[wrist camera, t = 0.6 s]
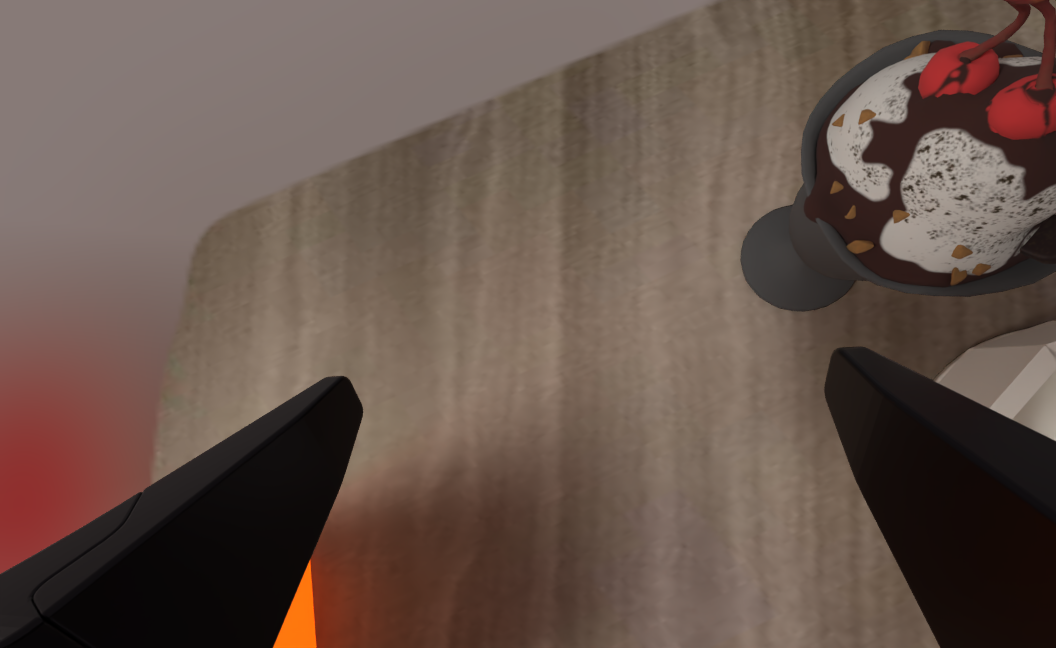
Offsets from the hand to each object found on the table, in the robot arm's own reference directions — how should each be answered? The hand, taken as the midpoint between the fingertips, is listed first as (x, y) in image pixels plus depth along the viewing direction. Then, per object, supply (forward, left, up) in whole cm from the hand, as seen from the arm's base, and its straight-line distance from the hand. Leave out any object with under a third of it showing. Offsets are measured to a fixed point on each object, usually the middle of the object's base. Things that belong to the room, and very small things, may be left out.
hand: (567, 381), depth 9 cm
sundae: (-4, -10, -14) cm, 17 cm away
